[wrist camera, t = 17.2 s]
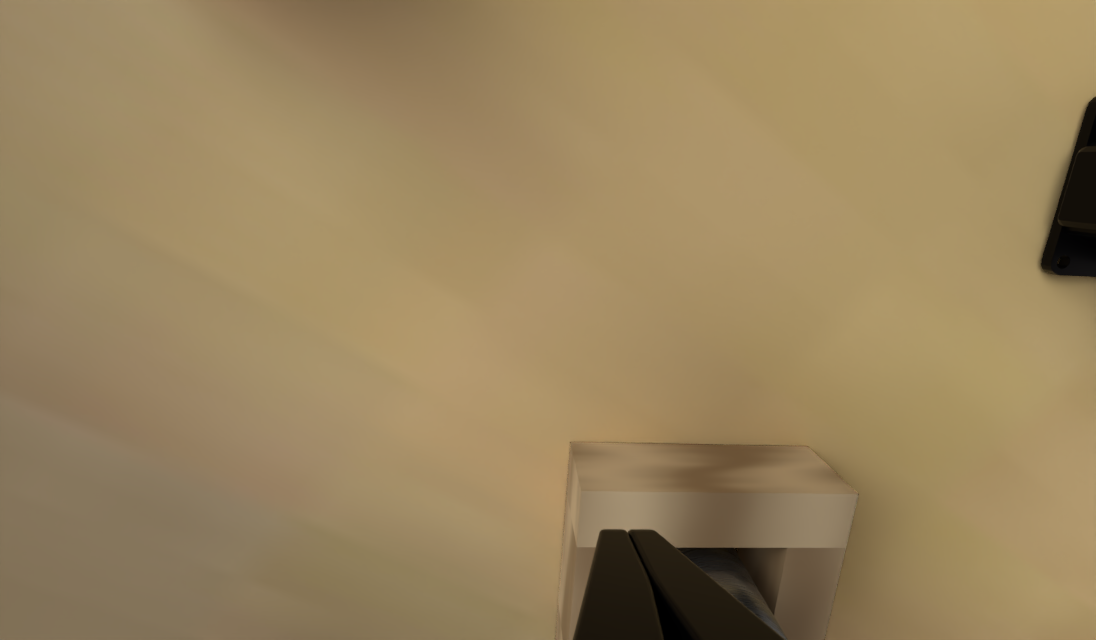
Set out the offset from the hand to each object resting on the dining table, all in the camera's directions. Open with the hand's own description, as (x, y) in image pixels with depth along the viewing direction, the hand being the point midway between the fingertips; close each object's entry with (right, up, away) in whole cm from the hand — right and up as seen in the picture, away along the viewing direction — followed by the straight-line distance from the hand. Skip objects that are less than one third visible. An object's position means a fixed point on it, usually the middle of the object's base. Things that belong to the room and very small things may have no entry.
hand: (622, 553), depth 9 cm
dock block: (+4, -6, +16) cm, 17 cm away
